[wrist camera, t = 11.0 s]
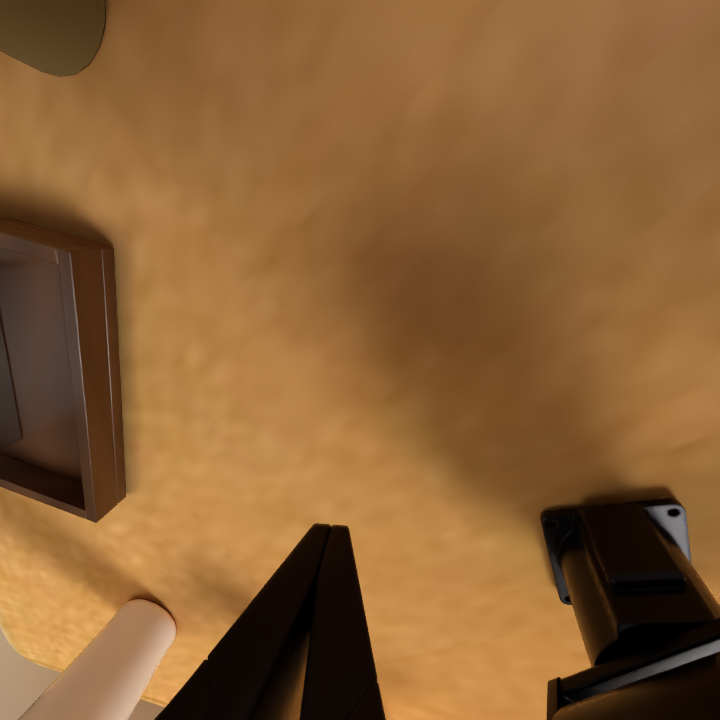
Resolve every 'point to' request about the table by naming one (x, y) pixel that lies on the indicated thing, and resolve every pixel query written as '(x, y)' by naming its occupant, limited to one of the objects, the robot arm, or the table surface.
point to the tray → (59, 371)
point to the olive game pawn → (52, 33)
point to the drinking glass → (110, 668)
